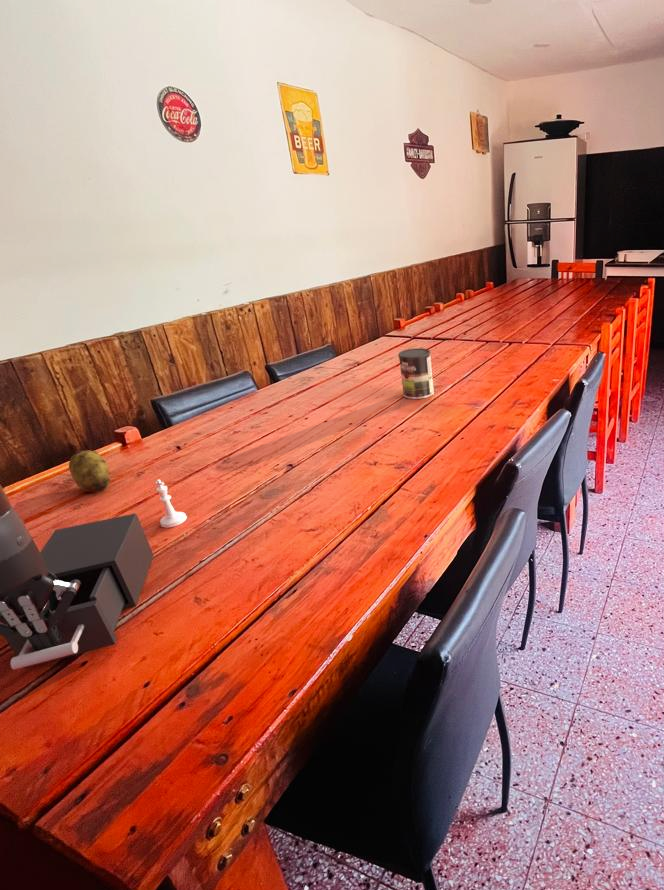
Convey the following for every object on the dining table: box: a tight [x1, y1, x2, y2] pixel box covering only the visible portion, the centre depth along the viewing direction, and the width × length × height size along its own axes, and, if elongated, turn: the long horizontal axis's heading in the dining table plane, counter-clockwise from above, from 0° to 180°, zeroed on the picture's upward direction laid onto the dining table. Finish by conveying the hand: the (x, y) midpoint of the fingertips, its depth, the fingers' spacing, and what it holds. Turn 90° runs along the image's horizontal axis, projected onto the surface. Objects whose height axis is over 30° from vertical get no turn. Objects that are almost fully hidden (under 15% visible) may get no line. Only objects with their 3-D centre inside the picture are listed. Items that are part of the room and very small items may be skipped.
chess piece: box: [154, 478, 188, 529], centre depth 106 cm, size 5×5×10 cm
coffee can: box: [397, 347, 435, 400], centre depth 167 cm, size 10×10×14 cm
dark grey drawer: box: [2, 565, 126, 670], centre depth 77 cm, size 19×11×8 cm, turn 20°
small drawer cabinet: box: [40, 513, 154, 610], centre depth 87 cm, size 15×13×10 cm
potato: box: [68, 449, 111, 493], centre depth 122 cm, size 8×13×8 cm, turn 28°
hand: (51, 648), depth 71 cm, fingers closed
